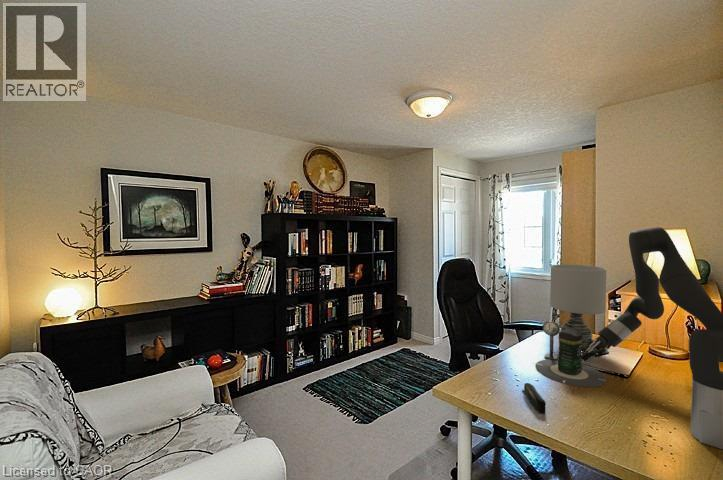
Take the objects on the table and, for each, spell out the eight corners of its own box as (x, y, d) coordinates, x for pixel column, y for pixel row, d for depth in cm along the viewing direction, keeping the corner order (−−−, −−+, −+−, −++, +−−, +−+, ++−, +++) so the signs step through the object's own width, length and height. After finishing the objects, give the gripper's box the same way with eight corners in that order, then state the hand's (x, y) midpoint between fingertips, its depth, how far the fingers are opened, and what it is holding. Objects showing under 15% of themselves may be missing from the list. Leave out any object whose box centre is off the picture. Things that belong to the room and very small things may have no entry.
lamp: (594, 360, 151) (596, 272, 149) (541, 345, 171) (542, 267, 169) (611, 348, 165) (613, 267, 164) (561, 335, 185) (562, 263, 183)
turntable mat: (603, 394, 121) (603, 393, 121) (528, 373, 139) (528, 373, 139) (608, 370, 141) (608, 369, 141) (542, 355, 158) (542, 354, 158)
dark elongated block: (547, 401, 109) (528, 379, 124) (538, 401, 109) (520, 378, 124) (547, 415, 109) (528, 391, 124) (538, 414, 109) (520, 391, 124)
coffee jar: (575, 378, 134) (575, 334, 133) (555, 371, 140) (555, 329, 139) (584, 371, 139) (585, 330, 138) (565, 365, 146) (565, 325, 145)
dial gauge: (558, 361, 150) (559, 323, 150) (542, 357, 155) (542, 320, 154) (560, 358, 154) (561, 320, 153) (544, 354, 159) (544, 318, 158)
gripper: (631, 345, 129) (596, 372, 132) (613, 334, 142) (581, 359, 145) (616, 332, 130) (582, 359, 133) (599, 322, 143) (569, 347, 146)
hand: (582, 359), depth 139 cm, fingers closed
